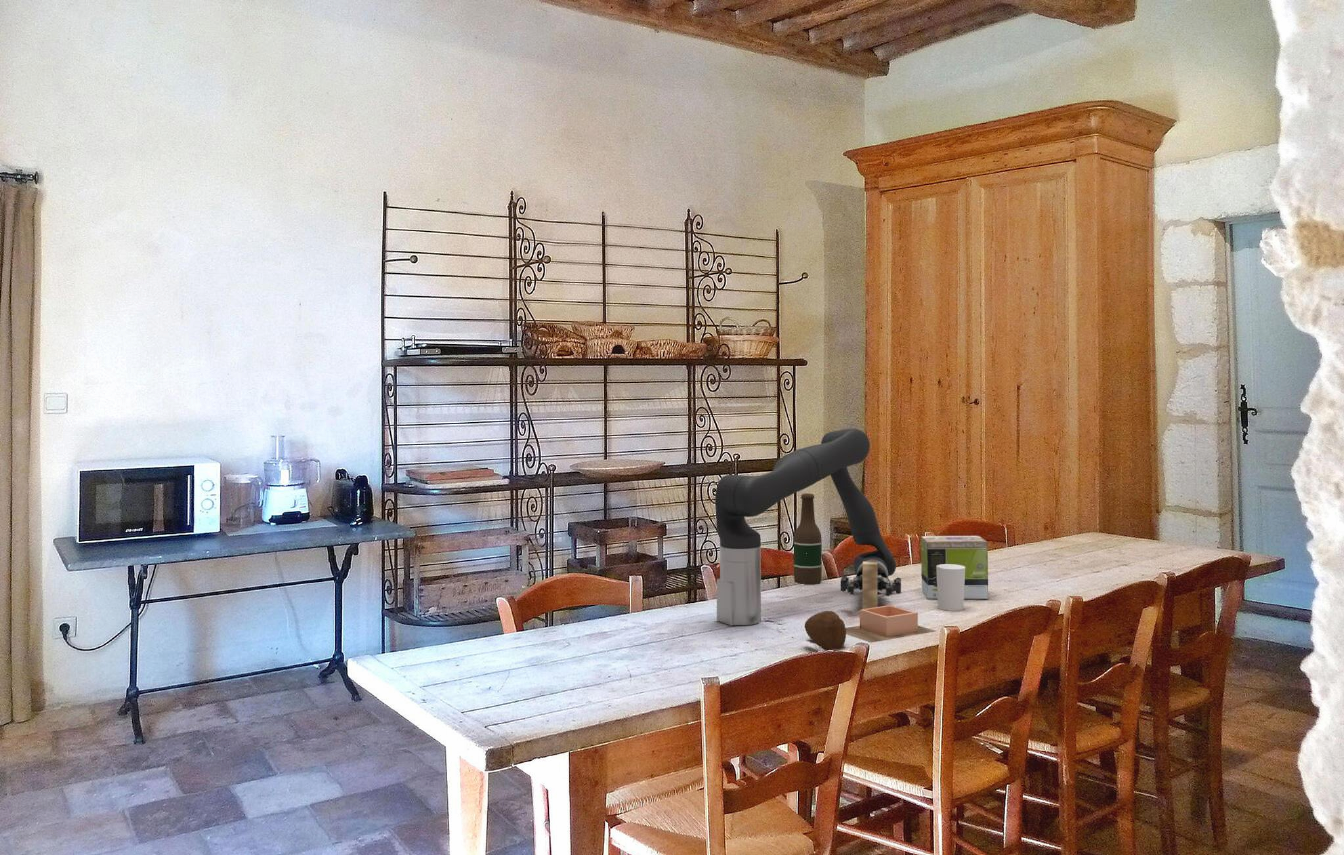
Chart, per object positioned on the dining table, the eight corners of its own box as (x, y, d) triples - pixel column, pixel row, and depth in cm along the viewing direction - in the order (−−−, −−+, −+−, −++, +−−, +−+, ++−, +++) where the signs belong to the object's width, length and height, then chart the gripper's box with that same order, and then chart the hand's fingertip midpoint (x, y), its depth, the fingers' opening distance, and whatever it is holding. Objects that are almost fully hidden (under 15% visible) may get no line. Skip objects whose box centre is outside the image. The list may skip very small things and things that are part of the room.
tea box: (980, 591, 256) (980, 534, 255) (988, 600, 246) (989, 540, 245) (920, 591, 258) (920, 534, 257) (926, 599, 248) (926, 540, 247)
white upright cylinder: (966, 611, 234) (966, 569, 233) (937, 610, 235) (937, 568, 235) (963, 605, 240) (964, 564, 240) (935, 604, 242) (935, 563, 241)
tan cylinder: (859, 621, 225) (859, 564, 225) (860, 616, 230) (860, 560, 229) (879, 622, 224) (879, 565, 224) (880, 617, 229) (880, 561, 228)
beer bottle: (813, 585, 265) (813, 496, 264) (788, 582, 270) (787, 494, 269) (827, 581, 271) (827, 493, 270) (802, 577, 276) (802, 491, 275)
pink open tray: (886, 636, 207) (886, 617, 207) (859, 628, 214) (859, 609, 214) (917, 631, 211) (917, 612, 211) (890, 623, 218) (890, 605, 218)
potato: (830, 657, 196) (830, 617, 196) (797, 646, 204) (797, 608, 204) (857, 651, 200) (857, 612, 200) (824, 641, 208) (824, 604, 208)
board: (870, 648, 203) (870, 642, 202) (833, 635, 213) (833, 629, 213) (936, 636, 211) (936, 630, 211) (897, 624, 222) (897, 619, 222)
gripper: (842, 560, 242) (837, 573, 226) (902, 562, 239) (902, 575, 223) (842, 591, 242) (837, 606, 226) (902, 593, 239) (902, 608, 223)
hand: (869, 590), depth 225 cm, fingers open, 7 cm apart
